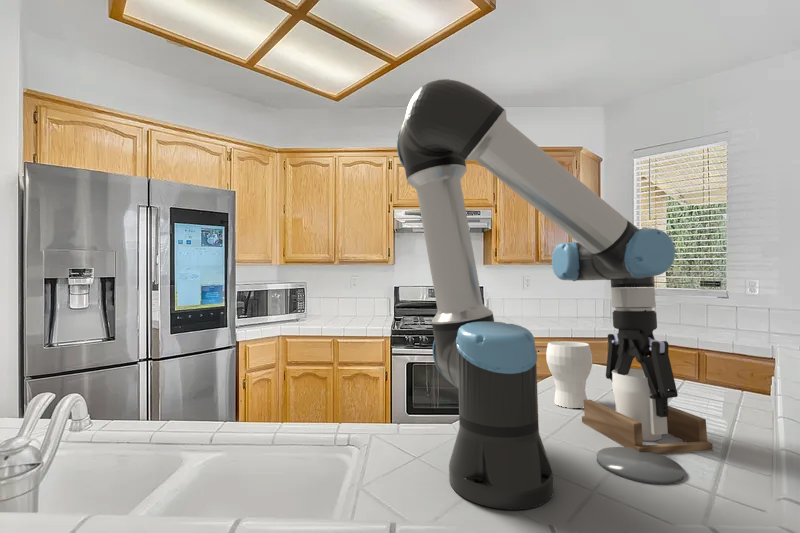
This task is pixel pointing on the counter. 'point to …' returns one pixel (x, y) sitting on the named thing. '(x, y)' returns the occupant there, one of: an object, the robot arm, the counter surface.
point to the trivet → (640, 465)
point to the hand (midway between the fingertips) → (640, 424)
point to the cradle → (631, 430)
